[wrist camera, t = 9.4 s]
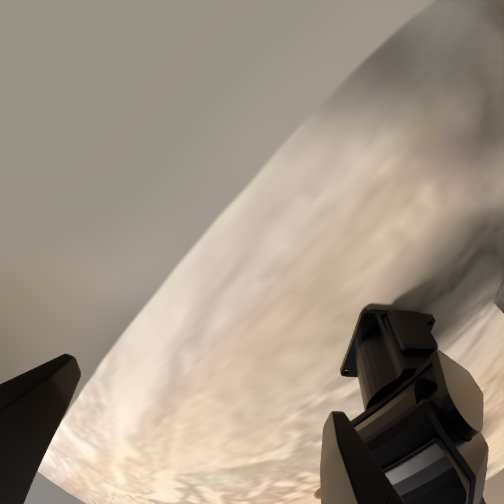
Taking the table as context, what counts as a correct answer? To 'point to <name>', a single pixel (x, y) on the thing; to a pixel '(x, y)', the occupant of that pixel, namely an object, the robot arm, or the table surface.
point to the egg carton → (500, 298)
